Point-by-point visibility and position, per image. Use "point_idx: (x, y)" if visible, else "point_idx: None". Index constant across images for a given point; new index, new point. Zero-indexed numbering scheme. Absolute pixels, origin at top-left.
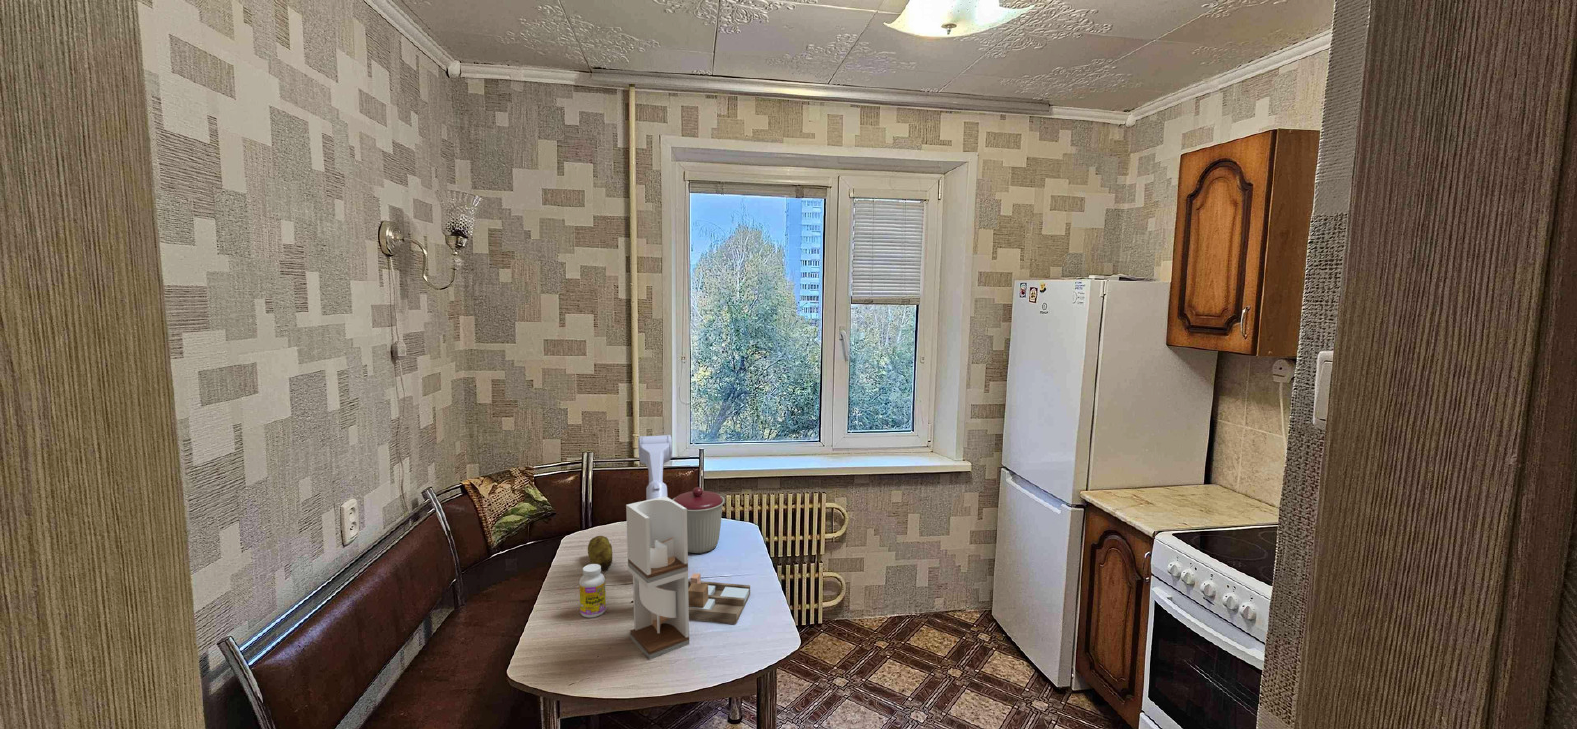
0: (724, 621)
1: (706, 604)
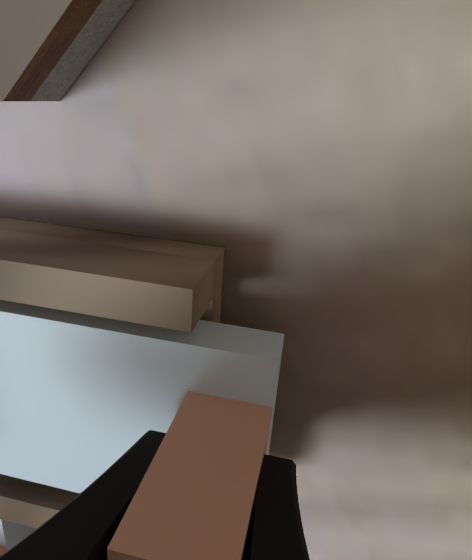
0: None
1: None
